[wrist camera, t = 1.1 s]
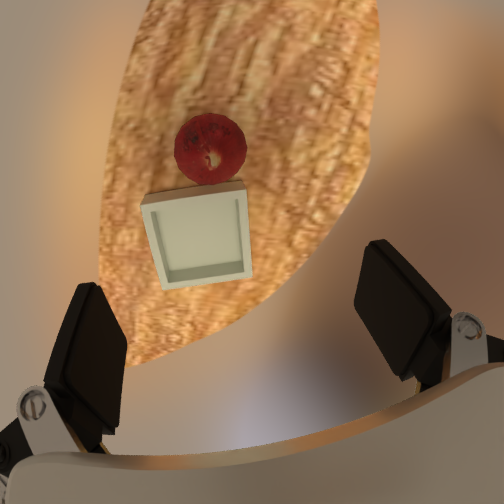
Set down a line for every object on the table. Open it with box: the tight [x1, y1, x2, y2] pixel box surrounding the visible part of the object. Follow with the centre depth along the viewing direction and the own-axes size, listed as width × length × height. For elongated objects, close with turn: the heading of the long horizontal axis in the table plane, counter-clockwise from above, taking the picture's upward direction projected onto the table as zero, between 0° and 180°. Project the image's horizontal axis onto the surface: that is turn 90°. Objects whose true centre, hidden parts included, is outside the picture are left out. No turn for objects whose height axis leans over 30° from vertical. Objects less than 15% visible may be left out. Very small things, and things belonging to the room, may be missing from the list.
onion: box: [174, 113, 247, 185], centre depth 21 cm, size 6×6×8 cm
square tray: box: [140, 181, 253, 290], centre depth 28 cm, size 10×10×3 cm
